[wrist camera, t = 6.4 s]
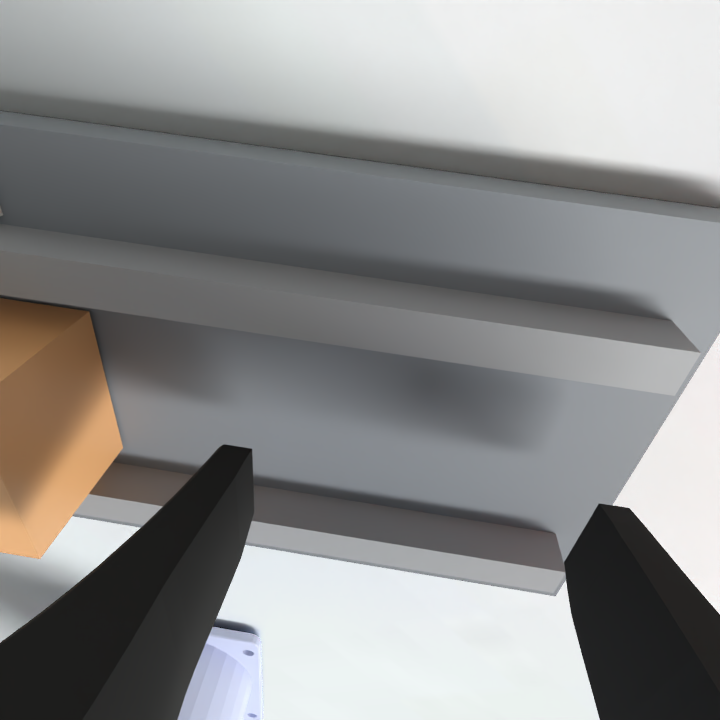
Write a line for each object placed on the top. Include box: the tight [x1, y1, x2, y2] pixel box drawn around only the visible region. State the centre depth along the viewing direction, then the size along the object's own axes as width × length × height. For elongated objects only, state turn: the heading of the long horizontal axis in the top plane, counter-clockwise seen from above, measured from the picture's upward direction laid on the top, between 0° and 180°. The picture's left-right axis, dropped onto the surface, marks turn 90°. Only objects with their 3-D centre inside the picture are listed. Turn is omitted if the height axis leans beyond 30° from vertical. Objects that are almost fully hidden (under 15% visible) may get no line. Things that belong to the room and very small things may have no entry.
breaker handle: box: [0, 298, 123, 559], centre depth 11 cm, size 4×3×4 cm
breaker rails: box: [0, 111, 720, 596], centre depth 12 cm, size 12×24×2 cm, turn 84°
